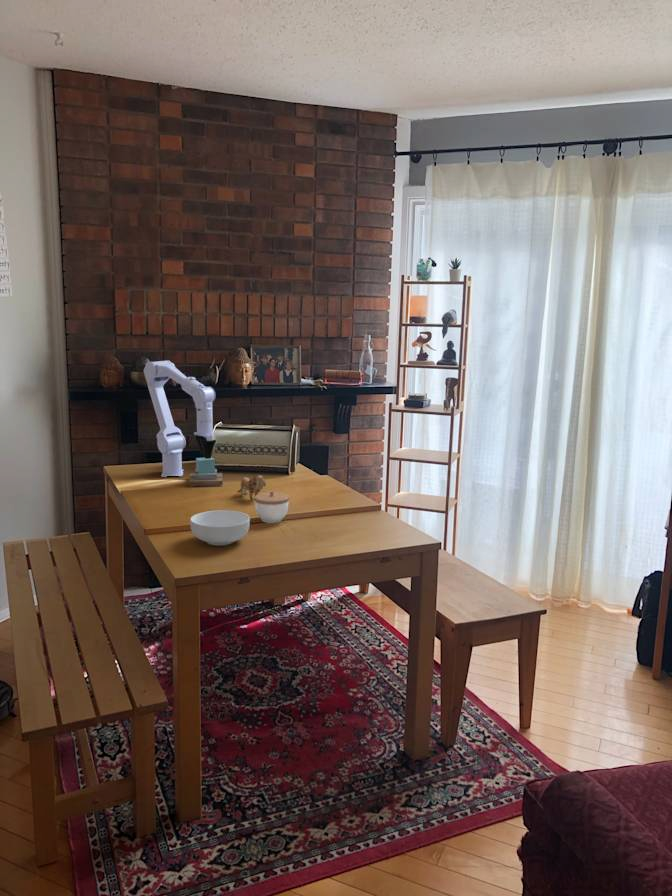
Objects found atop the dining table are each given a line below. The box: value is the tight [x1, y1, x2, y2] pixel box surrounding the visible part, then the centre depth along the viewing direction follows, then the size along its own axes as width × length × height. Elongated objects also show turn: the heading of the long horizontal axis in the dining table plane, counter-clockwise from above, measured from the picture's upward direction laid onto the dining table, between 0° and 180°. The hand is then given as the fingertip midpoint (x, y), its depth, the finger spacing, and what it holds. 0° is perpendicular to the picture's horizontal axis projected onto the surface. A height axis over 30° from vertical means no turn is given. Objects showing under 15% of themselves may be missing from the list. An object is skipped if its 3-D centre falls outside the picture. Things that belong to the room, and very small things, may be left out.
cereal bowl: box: [189, 509, 251, 547], centre depth 211 cm, size 17×17×7 cm
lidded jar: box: [254, 490, 290, 524], centre depth 231 cm, size 11×11×9 cm
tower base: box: [188, 468, 223, 487], centre depth 275 cm, size 12×12×4 cm
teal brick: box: [195, 456, 216, 474], centre depth 274 cm, size 4×6×5 cm
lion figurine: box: [237, 475, 268, 502], centre depth 255 cm, size 15×5×9 cm, turn 45°
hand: (205, 456), depth 274 cm, fingers open, 6 cm apart
